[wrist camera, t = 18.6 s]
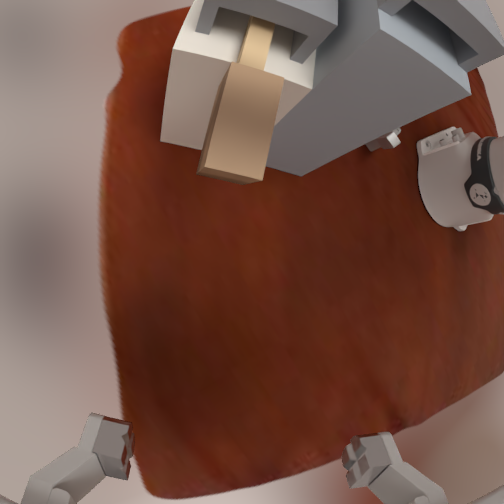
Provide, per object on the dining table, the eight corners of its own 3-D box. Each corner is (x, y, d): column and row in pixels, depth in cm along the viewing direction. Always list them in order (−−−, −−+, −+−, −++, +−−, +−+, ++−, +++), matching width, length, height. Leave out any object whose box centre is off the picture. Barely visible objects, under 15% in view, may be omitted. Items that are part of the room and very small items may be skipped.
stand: (301, 176, 39) (516, 76, 11) (160, 141, 34) (212, -103, 5) (310, 99, 40) (470, -26, 12) (185, 62, 35) (259, -141, 6)
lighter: (377, 130, 44) (411, 112, 36) (383, 139, 44) (418, 123, 36) (353, 152, 42) (389, 135, 34) (360, 162, 42) (397, 146, 35)
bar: (243, 184, 20) (262, 180, 16) (196, 174, 19) (204, 166, 15) (289, -12, 18) (309, -39, 14) (253, -24, 17) (269, -53, 13)
